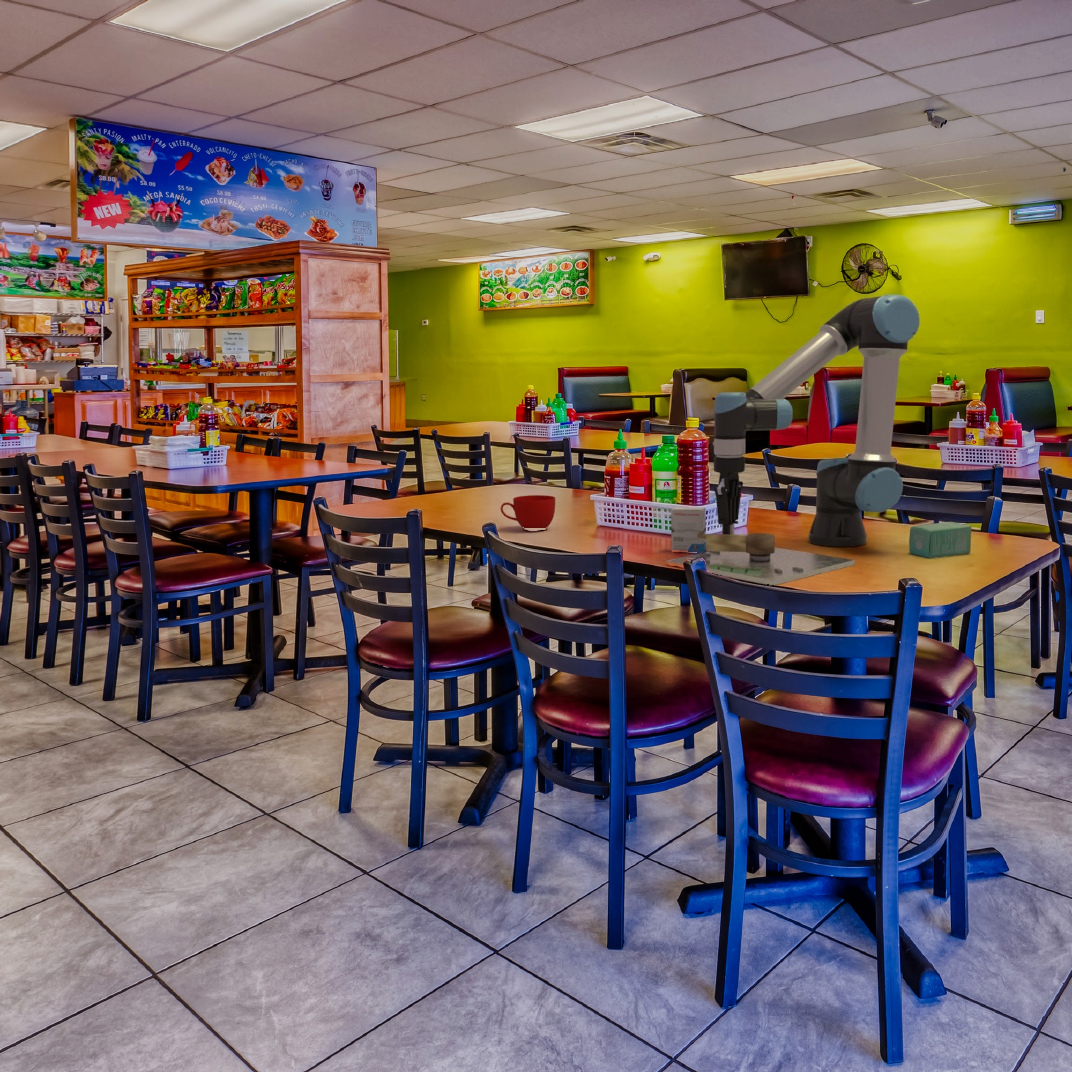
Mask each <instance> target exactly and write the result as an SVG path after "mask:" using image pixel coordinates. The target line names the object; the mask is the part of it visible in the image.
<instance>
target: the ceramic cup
mask: <svg viewBox="0 0 1072 1072" xmlns="http://www.w3.org/2000/svg"><path fill="white" fill-rule="evenodd" d="M512 500H513V503H511V502H506V501H505V502H503V503H502V504H501V506H500V512H501V514H502V515H503V517H506V518H507V519H509V520H512V521H515V522H518V524H519V526H520V527H521V528H522V527H524V528H546V527H547V528H548V527H549V526H550V525H551V523H552V522H553V519H554V517H555V512H556V511H555V510H556V497H555V496H553V495H543V494H532V495H520V496H515V497H513V498H512ZM504 506H510V507H511V508H512V509H513V511H514V516H515V517H512V516H510V515H507V513H506V512H504V509H503V508H504ZM547 528H546V529H547Z"/></svg>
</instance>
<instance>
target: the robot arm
mask: <svg viewBox="0 0 1072 1072" xmlns="http://www.w3.org/2000/svg"><path fill="white" fill-rule="evenodd" d="M920 322H921V321H920V313H919V310H918V308H917V306H916V305H915V303H913V301H912V300H911V299H910V298H908V297H906V296H905V295H900V294H884V295H880V296H873V297H866V298H865V297H864V298H861V299H857V300H855V301H853V302H851V303H849V304H848V305H847V306H845V307H844V308H842V309H841V310H840V311H839V312H837V313H836V314H834V315H833V316H832V317H831V318H830V319H829V320H827V321H826V322H825V323H824V324H823V325H821V326H820V327H819V333H817V334H816V335H815V336H814V337H812V338H811V339H810V340H809V341H807V342H806V343H805V344H804V345H803V346H801V347H800V348H799V349H797V350H796V351H795V352H794V353H793V354H791V356H789V357H787V359H785V360H784V361H783V362H782V363H780V364H779V365H778V366H777V367H776V368H774V369H773V370H772V371H771V372H768V374H766V376H764V377H763V378H762V379H760V380H759V381H758V382H757V383H756V384H755V385H754V386H752V387H751V388H750V389H748V390H746V392H740V391H739V392H738V391H737V392H734V391H733V392H731V391H729V392H726V391H725V392H719V393H717V394H716V395H715V399H714V409H713V416H714V418H713V419H714V421H713V423H714V435H713V436H714V438H713V439H714V441H713V442H712V446H713V453H714V455H715V456H714V458H713V471H714V472H715V473H718V474H719V478H718V486H714V488H713V490H714V495H715V501H716V510H717V521H718V522H717V523H718V525H721V534H735V524H736V525H738V524H739V516H740V505H741V497H742V489H743V486H744V482H743V481H740V473H743V472H745V469H746V458H745V455H746V432H751V431H778V430H785V429H787V428H789V427H790V426H791V424H792V421H793V415H794V413H793V412H794V411H793V406H792V405H791V402H790V401H789V400H788V399H785V398H786V397H787V396H789V395H790V394H791V393H792V392H794V391H795V390H797V388H799V387H800V386H801V385H802V384H803V383H805V382H807V380H809V379H810V378H811V377H812V376H813V375H814V374H816V373H817V372H819V371H821V369H822V368H823V367H825V366H826V365H827V364H829V362H831V361H832V360H833V359H835V358H836V357H837V356H844V355H846V354H847V353H848V352H850V351H851V350H852V349H855V348H857V347H858V349H857V350H858V352H859V353H860V354H861V355H862V356H863V363H862V374H861V375H862V376H861V385H860V395H859V407H858V416H857V417H858V419H857V426H856V427H857V428H856V438H855V448H854V452H853V453H852V454H850V455H849V456H848V457H842V458H841V457H840V458H829V459H821V460H819V462H818V464H817V468H816V473H815V474H816V502H815V503H816V504H815V505H816V506H815V507H816V508H815V516H814V518H813V521H812V524H811V527H810V529H809V532H808V543H811V544H814V545H818V546H826V547H840V548H841V547H844V548H845V547H859V546H863V545H866V544H867V536H868V535H867V532H866V528H865V525H864V521H863V518H862V515H861V513H862V512H861V511H863V512H866V513H884V512H886V511H888V510H890V509H891V508H892V507H894V506H895V505H896V504H897V503H898V501H900V498H901V496H902V493H903V489H904V484H903V479H902V477H901V476H900V473H899V472H898V471H896V465H897V464H896V463H897V460H896V459H897V458H895V457H894V456H893V455H892V453H891V452H892V451H891V450H892V440H893V431H894V421H895V412H896V410H895V409H896V402H897V401H896V399H897V392H898V391H897V389H898V380H899V379H898V378H899V371H900V370H899V369H900V363H901V360H900V359H901V358H902V356H903V355H904V354H906V353H907V352H908V344H909V341H910V340H912V339H913V338H914V336H915V335H916V334H917V332H918V330H919V328H920Z"/></svg>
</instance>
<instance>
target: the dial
mask: <svg viewBox="0 0 1072 1072" xmlns="http://www.w3.org/2000/svg"><path fill="white" fill-rule="evenodd" d="M697 538H698V539H706V551H705V552H710V551H722V552H746V553H749V554H759V555H764V554H772V553H775V548H776V546H775V545H776V535H774V534H772V533H763V532H762V533H761V532H760V533H759V532H758V533H754V532H753V533H747V534H736V533H734V534H722V533H706V534H697Z"/></svg>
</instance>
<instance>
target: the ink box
mask: <svg viewBox="0 0 1072 1072" xmlns="http://www.w3.org/2000/svg"><path fill="white" fill-rule="evenodd" d="M706 510H707V508H706V507H703V506H702V507H699V506H698V507H695V506H693V507H692V506H691V507H690V506H675V507H673V508H672V509H670V511H671V512H670V515H671V516H670V517H671V519H670V521H671V522H670V524H671V525H670V528H671V529H670V530H671V532H670V533H671V537H670V538H671V541H670V542H671V544H670V545H671V550H680V551H688V552H697V553H705V552H706V551H705V550H706V539H698V538H697V534H707V527H706V526H707V522H706V521H707V519H706V517H707V514H706V512H707V511H706ZM697 553H696V554H697Z"/></svg>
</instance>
